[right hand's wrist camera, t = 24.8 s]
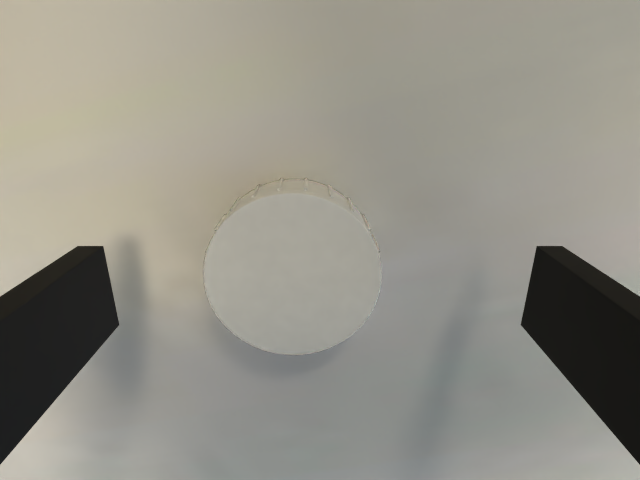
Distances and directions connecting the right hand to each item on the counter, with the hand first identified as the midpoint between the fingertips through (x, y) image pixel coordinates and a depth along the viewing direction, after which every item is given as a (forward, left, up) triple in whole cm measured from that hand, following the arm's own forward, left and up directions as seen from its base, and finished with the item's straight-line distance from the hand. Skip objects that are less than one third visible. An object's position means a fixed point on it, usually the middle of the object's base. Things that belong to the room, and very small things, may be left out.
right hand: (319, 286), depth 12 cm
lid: (+1, -1, -2) cm, 2 cm away
